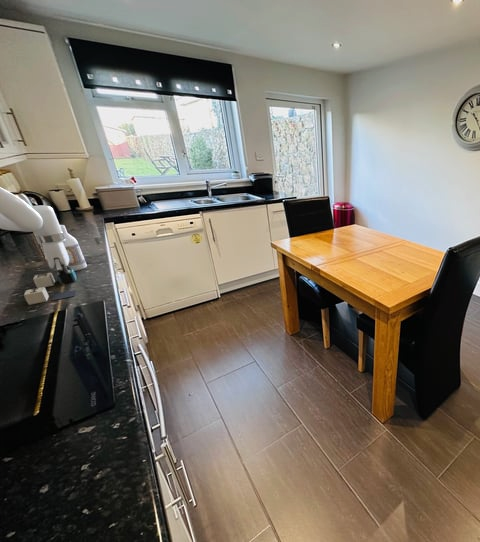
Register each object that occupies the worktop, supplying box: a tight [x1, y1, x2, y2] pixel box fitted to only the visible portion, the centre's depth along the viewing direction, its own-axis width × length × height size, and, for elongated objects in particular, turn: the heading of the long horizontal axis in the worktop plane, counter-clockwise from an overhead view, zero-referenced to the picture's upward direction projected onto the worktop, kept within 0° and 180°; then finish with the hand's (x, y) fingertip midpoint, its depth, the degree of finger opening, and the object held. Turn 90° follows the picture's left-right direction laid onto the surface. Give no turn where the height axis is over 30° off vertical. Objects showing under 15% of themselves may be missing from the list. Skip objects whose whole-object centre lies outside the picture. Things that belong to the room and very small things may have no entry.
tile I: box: [23, 287, 50, 306], centre depth 100 cm, size 4×4×4 cm
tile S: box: [56, 269, 78, 285], centre depth 115 cm, size 4×4×4 cm
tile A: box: [32, 272, 56, 288], centre depth 112 cm, size 4×4×4 cm
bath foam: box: [59, 224, 88, 272], centre depth 124 cm, size 7×7×20 cm
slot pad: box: [51, 289, 77, 302], centre depth 105 cm, size 6×6×1 cm
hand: (68, 280), depth 116 cm, fingers closed on tile S, 4 cm apart
